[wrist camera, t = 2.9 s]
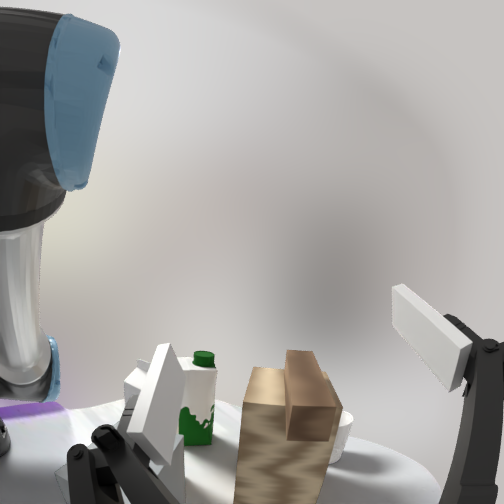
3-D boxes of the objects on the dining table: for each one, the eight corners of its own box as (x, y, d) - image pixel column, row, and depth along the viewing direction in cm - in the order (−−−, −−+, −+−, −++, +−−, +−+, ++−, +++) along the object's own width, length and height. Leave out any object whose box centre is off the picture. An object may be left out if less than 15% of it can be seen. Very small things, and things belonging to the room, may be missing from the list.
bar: (286, 440, 22) (292, 405, 22) (284, 373, 41) (286, 349, 42) (328, 441, 21) (336, 406, 22) (309, 374, 41) (312, 351, 41)
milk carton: (216, 446, 47) (222, 360, 49) (172, 448, 44) (172, 359, 45) (206, 426, 55) (210, 347, 57) (167, 427, 52) (167, 346, 53)
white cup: (334, 470, 39) (345, 430, 40) (298, 458, 44) (306, 419, 45) (348, 451, 45) (358, 413, 46) (315, 442, 50) (323, 405, 51)
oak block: (232, 509, 28) (243, 401, 30) (243, 462, 42) (253, 366, 44) (311, 513, 27) (342, 407, 29) (306, 466, 41) (325, 371, 43)
